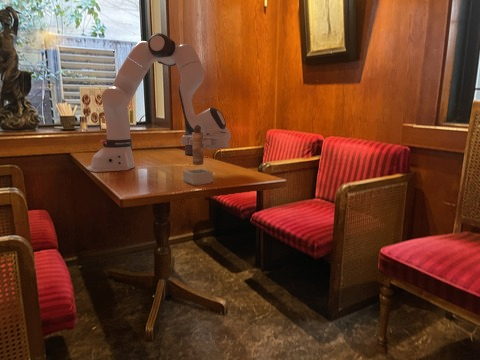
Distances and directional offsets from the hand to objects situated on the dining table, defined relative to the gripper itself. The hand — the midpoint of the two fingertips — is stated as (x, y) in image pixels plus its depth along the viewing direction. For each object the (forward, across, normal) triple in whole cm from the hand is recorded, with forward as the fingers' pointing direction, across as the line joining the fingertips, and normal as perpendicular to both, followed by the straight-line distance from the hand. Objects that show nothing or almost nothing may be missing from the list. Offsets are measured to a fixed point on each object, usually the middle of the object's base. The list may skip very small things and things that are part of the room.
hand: (196, 142), depth 150 cm
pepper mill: (-1, 0, +9) cm, 9 cm away
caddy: (-1, 0, +17) cm, 17 cm away
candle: (-67, -38, +17) cm, 79 cm away
